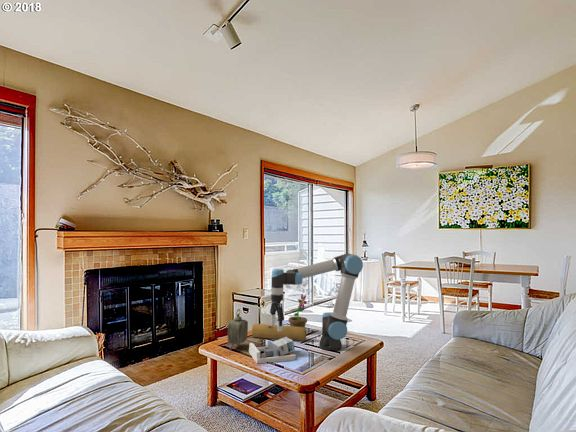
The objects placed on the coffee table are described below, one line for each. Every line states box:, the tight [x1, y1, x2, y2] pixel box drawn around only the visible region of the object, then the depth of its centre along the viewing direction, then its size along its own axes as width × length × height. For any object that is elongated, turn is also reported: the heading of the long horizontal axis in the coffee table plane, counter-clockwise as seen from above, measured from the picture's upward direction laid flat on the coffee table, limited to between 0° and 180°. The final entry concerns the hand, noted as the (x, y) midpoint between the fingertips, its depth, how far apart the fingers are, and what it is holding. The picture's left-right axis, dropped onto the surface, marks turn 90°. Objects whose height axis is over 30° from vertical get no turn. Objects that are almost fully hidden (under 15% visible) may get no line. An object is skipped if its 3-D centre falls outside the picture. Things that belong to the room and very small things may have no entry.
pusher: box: [263, 340, 279, 358], centre depth 219 cm, size 6×17×6 cm, turn 20°
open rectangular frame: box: [248, 342, 297, 364], centre depth 219 cm, size 24×20×6 cm
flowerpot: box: [288, 293, 308, 328], centre depth 271 cm, size 14×14×30 cm
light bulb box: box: [270, 337, 296, 356], centre depth 224 cm, size 11×7×11 cm
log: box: [251, 323, 307, 342], centre depth 254 cm, size 38×10×10 cm, turn 81°
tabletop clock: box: [227, 309, 249, 351], centre depth 233 cm, size 14×9×25 cm, turn 168°
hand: (276, 328), depth 221 cm, fingers open, 13 cm apart
